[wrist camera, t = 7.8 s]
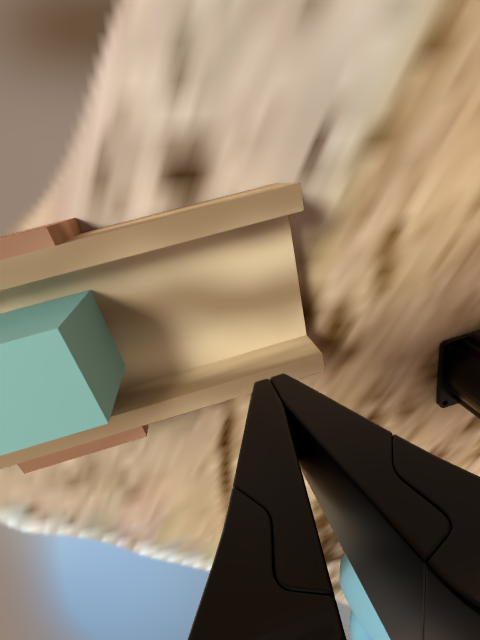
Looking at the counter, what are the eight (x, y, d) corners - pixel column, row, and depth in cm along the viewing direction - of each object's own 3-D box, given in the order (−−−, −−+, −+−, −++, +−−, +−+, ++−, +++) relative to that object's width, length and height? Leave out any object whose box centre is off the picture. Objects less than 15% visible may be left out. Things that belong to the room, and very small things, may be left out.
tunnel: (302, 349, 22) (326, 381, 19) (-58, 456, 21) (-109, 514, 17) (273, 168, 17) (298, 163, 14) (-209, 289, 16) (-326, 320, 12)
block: (125, 366, 19) (108, 423, 14) (42, 390, 18) (-3, 456, 14) (90, 289, 17) (57, 328, 12) (-5, 314, 16) (-76, 364, 12)
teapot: (420, 567, 38) (510, 709, 28) (314, 586, 35) (370, 750, 25) (464, 475, 32) (598, 610, 22) (341, 489, 29) (428, 650, 19)
